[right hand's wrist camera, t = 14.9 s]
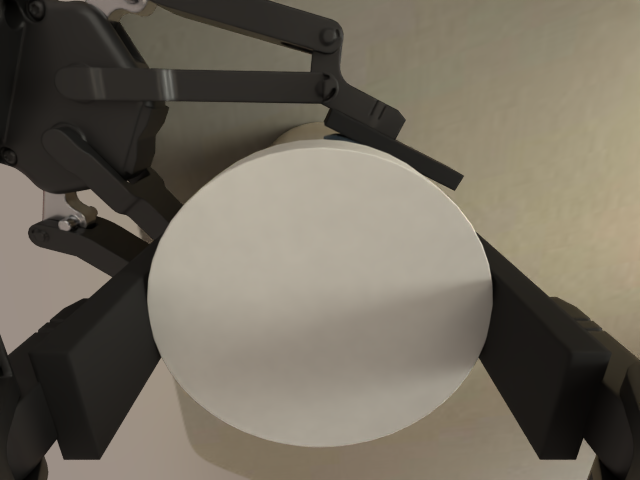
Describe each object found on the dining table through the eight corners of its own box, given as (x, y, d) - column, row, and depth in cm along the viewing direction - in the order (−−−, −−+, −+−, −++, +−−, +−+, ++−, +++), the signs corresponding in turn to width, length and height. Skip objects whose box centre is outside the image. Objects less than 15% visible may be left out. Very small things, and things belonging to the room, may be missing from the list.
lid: (255, 68, 9) (242, 63, 8) (534, 244, 11) (569, 268, 10) (125, 335, 12) (97, 370, 11) (363, 442, 14) (368, 485, 13)
